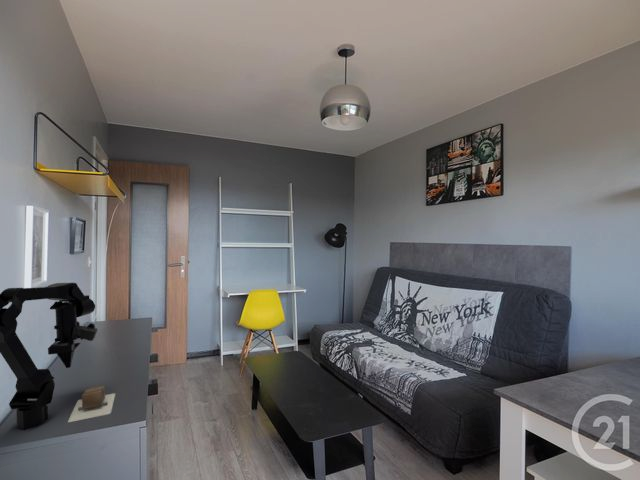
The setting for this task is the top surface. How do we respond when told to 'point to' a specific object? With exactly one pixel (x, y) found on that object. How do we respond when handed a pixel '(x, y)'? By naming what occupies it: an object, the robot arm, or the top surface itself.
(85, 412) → the mat
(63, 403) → the top surface
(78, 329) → the robot arm
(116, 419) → the top surface
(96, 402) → the walnut block
